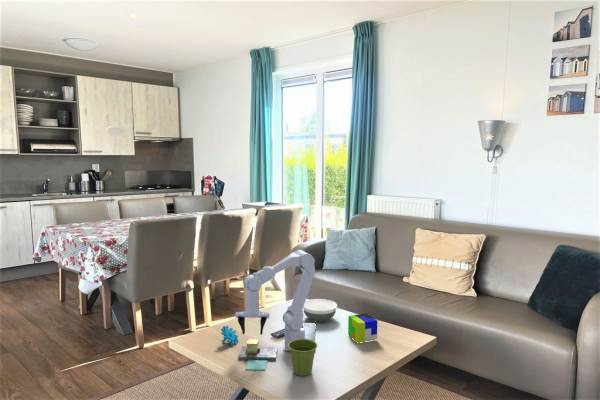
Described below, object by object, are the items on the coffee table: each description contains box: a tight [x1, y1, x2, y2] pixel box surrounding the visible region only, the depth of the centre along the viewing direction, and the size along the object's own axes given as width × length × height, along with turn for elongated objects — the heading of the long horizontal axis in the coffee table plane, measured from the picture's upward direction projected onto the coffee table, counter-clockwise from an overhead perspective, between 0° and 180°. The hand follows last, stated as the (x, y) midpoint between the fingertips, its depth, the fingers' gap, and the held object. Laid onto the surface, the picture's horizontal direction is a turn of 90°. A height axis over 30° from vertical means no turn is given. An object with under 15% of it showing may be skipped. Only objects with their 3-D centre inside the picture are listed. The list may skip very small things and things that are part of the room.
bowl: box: [302, 298, 338, 323], centre depth 222 cm, size 19×19×8 cm
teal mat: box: [245, 360, 268, 371], centre depth 172 cm, size 8×8×1 cm
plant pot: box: [288, 338, 319, 377], centre depth 166 cm, size 12×12×11 cm
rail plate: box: [237, 345, 279, 362], centre depth 181 cm, size 16×10×1 cm, turn 88°
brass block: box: [246, 338, 260, 355], centre depth 181 cm, size 4×4×6 cm
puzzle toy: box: [347, 312, 378, 344], centre depth 199 cm, size 10×10×10 cm
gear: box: [220, 325, 239, 345], centre depth 194 cm, size 11×6×10 cm
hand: (252, 333), depth 181 cm, fingers open, 7 cm apart
